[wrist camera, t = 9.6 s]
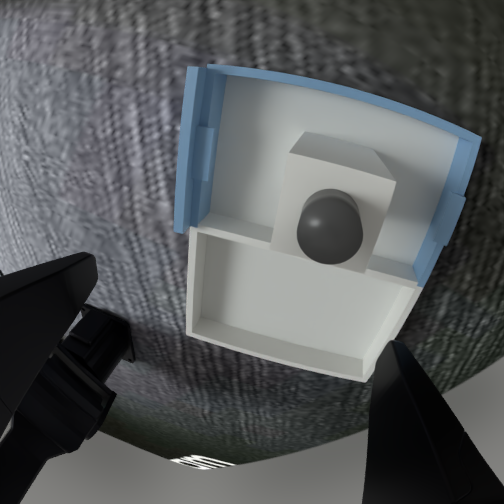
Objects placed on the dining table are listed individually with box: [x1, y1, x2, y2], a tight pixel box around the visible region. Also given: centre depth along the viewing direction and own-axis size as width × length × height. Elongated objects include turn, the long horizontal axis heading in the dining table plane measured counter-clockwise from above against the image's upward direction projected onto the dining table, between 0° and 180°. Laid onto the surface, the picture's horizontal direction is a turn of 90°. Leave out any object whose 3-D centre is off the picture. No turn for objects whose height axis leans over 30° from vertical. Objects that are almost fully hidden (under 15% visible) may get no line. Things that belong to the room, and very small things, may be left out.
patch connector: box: [270, 131, 396, 274], centre depth 13 cm, size 4×4×9 cm
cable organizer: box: [174, 64, 482, 383], centre depth 18 cm, size 20×16×4 cm
